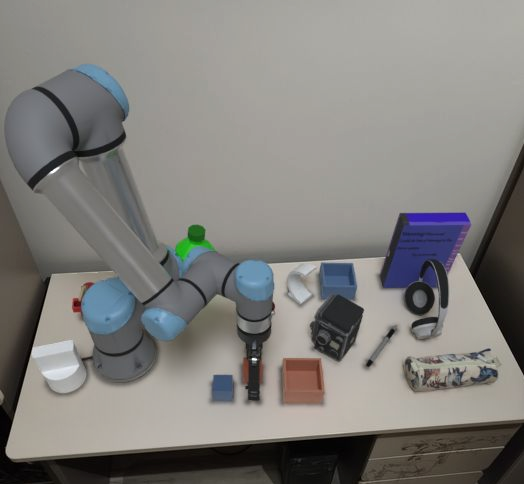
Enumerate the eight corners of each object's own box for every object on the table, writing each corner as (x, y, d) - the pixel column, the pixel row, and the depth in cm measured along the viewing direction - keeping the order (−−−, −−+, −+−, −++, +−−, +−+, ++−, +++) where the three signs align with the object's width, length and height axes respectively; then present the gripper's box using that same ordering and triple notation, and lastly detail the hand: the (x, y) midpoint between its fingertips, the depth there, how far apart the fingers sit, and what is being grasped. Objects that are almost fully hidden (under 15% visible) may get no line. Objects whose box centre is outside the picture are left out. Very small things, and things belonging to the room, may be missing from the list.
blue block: (213, 400, 116) (212, 391, 112) (214, 384, 119) (213, 374, 115) (232, 401, 116) (231, 391, 113) (232, 384, 119) (232, 374, 116)
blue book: (437, 275, 145) (465, 211, 127) (441, 287, 142) (471, 224, 124) (379, 275, 144) (399, 212, 126) (382, 288, 141) (404, 224, 123)
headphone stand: (300, 304, 136) (305, 275, 127) (285, 292, 138) (288, 263, 129) (311, 296, 138) (316, 266, 129) (296, 284, 141) (300, 254, 131)
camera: (322, 322, 132) (330, 285, 121) (356, 341, 129) (368, 305, 117) (301, 347, 127) (307, 311, 115) (337, 368, 123) (347, 333, 111)
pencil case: (478, 361, 126) (493, 339, 118) (492, 390, 120) (508, 369, 113) (396, 369, 123) (406, 347, 116) (406, 399, 118) (418, 378, 110)
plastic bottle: (170, 310, 131) (172, 242, 113) (175, 282, 138) (178, 213, 120) (207, 315, 132) (215, 248, 114) (211, 286, 139) (219, 219, 121)
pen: (365, 365, 124) (366, 362, 123) (394, 324, 132) (395, 321, 131) (369, 368, 123) (370, 365, 122) (398, 327, 132) (399, 324, 131)
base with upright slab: (85, 357, 122) (72, 329, 113) (87, 388, 117) (74, 361, 108) (48, 365, 121) (32, 337, 111) (48, 396, 115) (31, 369, 106)
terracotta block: (243, 382, 119) (243, 373, 116) (243, 367, 122) (243, 357, 119) (261, 382, 120) (262, 373, 116) (261, 367, 122) (261, 357, 119)
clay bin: (283, 402, 116) (284, 391, 112) (281, 369, 122) (283, 357, 118) (321, 403, 117) (324, 391, 112) (318, 370, 122) (321, 358, 118)
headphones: (442, 350, 127) (469, 301, 112) (410, 350, 127) (433, 301, 112) (426, 295, 140) (448, 243, 124) (396, 294, 140) (416, 243, 124)
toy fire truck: (99, 290, 137) (91, 266, 129) (93, 329, 128) (84, 306, 121) (86, 291, 136) (78, 267, 129) (80, 330, 128) (70, 307, 120)
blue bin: (321, 299, 137) (323, 286, 133) (318, 275, 143) (321, 262, 139) (353, 299, 138) (357, 286, 134) (349, 275, 144) (353, 262, 139)
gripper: (273, 371, 96) (269, 420, 112) (270, 278, 112) (268, 333, 128) (235, 371, 96) (237, 420, 112) (237, 278, 112) (239, 333, 128)
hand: (253, 374), depth 120 cm, fingers open, 13 cm apart
